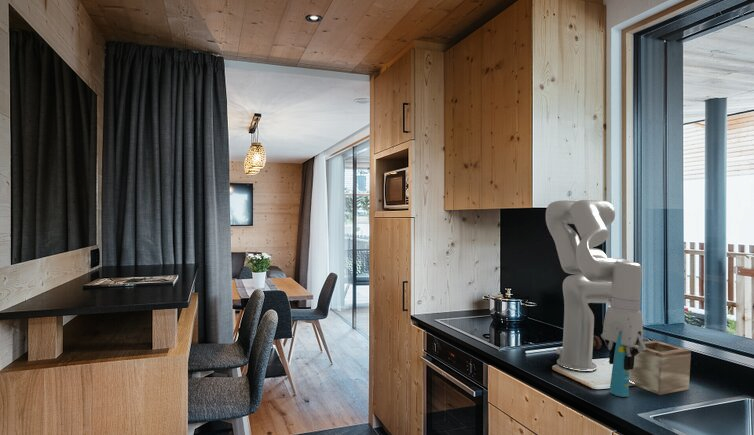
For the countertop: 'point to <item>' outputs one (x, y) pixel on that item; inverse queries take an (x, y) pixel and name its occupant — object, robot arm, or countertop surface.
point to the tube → (619, 371)
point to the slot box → (661, 368)
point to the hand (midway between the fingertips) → (621, 365)
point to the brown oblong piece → (596, 343)
